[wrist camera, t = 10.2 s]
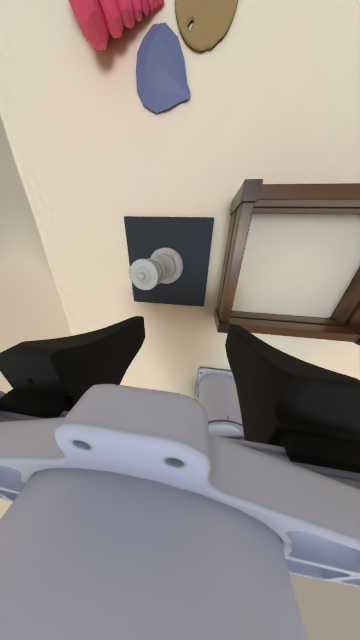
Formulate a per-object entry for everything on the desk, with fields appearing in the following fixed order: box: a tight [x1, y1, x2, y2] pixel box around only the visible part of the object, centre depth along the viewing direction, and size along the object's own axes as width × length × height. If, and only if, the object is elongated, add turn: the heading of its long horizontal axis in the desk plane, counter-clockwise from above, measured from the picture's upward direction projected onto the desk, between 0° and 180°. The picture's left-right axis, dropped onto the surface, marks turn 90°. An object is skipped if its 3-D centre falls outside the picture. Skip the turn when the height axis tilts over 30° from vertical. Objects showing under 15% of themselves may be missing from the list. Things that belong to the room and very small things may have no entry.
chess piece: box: [129, 248, 183, 290], centre depth 14 cm, size 4×4×10 cm
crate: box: [214, 179, 360, 345], centre depth 15 cm, size 14×17×5 cm
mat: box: [124, 217, 214, 306], centre depth 19 cm, size 11×11×1 cm
